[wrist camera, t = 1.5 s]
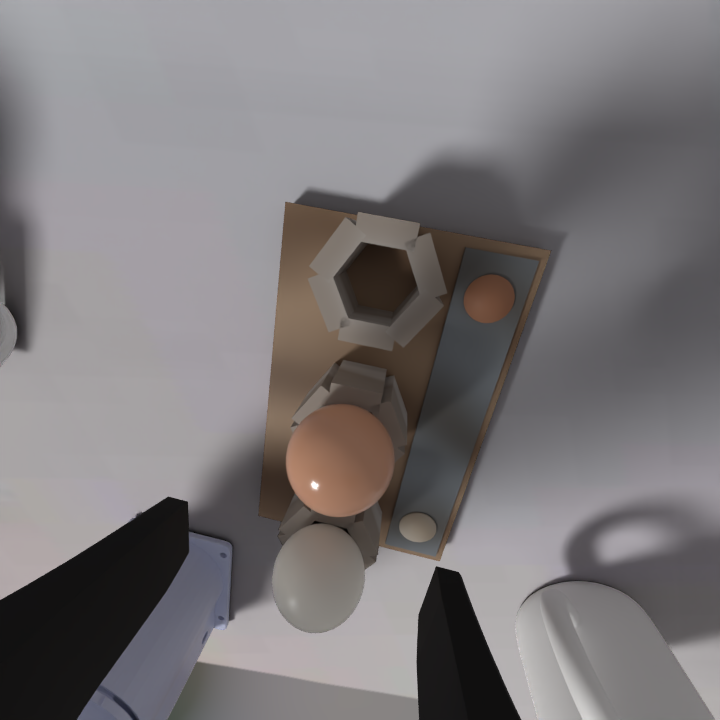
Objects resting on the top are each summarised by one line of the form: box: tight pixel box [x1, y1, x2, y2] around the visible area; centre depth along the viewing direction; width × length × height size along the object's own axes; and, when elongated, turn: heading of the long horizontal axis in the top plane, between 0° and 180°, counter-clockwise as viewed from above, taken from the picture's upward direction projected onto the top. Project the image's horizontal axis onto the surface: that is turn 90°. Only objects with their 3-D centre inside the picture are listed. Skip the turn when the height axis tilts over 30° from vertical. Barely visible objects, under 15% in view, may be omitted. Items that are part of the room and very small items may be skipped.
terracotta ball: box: [286, 404, 395, 517], centre depth 14 cm, size 4×4×4 cm
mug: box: [515, 581, 715, 720], centre depth 18 cm, size 12×8×10 cm
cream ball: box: [272, 523, 365, 633], centre depth 17 cm, size 4×4×4 cm
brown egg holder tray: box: [258, 202, 551, 569], centre depth 17 cm, size 19×12×4 cm, turn 170°
